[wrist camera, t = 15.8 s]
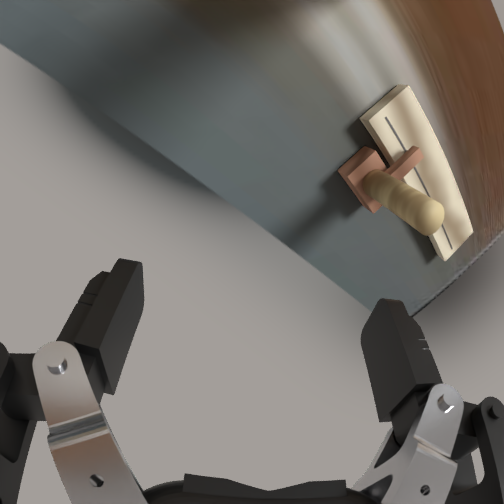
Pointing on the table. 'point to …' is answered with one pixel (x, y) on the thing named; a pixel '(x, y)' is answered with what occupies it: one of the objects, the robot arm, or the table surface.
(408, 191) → the marking gauge
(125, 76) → the table surface
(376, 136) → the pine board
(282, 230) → the table surface
